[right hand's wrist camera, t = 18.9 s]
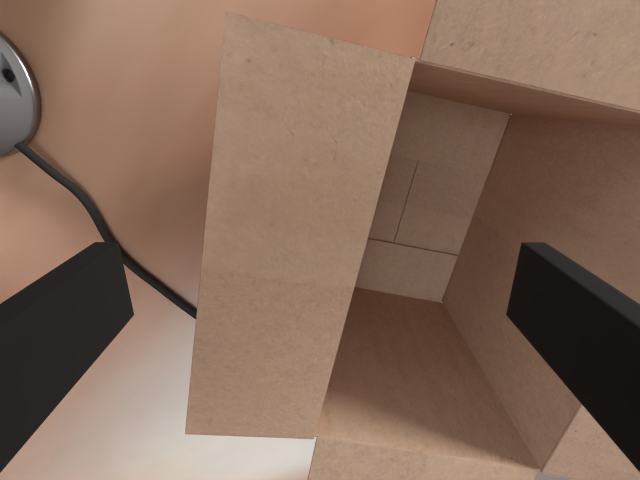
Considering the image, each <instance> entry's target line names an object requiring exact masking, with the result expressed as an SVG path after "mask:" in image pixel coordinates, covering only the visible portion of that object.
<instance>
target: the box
mask: <svg viewBox="0 0 640 480" xmlns="http://www.w3.org/2000/svg"><path fill="white" fill-rule="evenodd" d="M511 114H512V115H511ZM415 168H416V169H415ZM413 175H414V176H413ZM412 178H413V179H412ZM410 185H411V186H410ZM409 188H410V189H409ZM407 195H408V196H407ZM406 198H407V199H406ZM404 205H405V206H404ZM401 215H402V216H401ZM399 222H400V223H399ZM398 225H399V226H398ZM396 232H397V233H396ZM395 235H396V236H395ZM393 242H394V243H393ZM521 242H545V243H547V244H548V245H550V246H551V247H553V248H554V249H556V250H558V251H559V252H561V253H562V254H564V255H565V256H567V257H568V258H570V259H571V260H573V261H574V262H576V263H577V264H579V265H581V266H582V267H584V268H585V269H587V270H588V271H590V272H591V273H593V274H594V275H596V276H597V277H599V278H600V279H602V280H604V281H605V282H607V283H608V284H610V285H611V286H613V287H614V288H616V289H617V290H619V291H620V292H622V293H623V294H625V295H627V296H628V297H630V298H631V299H633V300H634V301H636V302H637V303H639V304H640V0H436V3H435V7H434V10H433V14H432V17H431V21H430V24H429V28H428V31H427V35H426V38H425V42H424V45H423V49H422V52H421V56H420V59H418V58H414V57H410V58H409V57H405V56H401V55H397V54H393V53H389V52H385V51H381V50H377V49H373V48H369V47H365V46H361V45H357V44H353V43H349V42H345V41H341V40H337V39H333V38H329V37H325V36H321V35H317V34H313V33H309V32H305V31H301V30H297V29H293V28H289V27H285V26H281V25H277V24H273V23H269V22H265V21H261V20H257V19H253V18H249V17H245V16H241V15H237V14H233V13H229V12H226V16H225V26H224V36H223V47H222V57H221V67H220V78H219V88H218V98H217V109H216V119H215V129H214V140H213V150H212V160H211V171H210V181H209V191H208V202H207V212H206V222H205V233H204V243H203V253H202V264H201V274H200V284H199V295H198V305H197V315H196V326H195V336H194V346H193V357H192V367H191V378H190V388H189V398H188V409H187V419H186V429H185V434H195V435H221V436H246V437H272V438H298V439H314V437H316V436H317V439H316V443H315V448H314V453H313V457H312V462H311V466H310V471H309V476H308V480H535V477H536V474H537V471H538V470H539V471H540V472H541V473H542V474H547V475H552V476H558V477H563V478H568V479H573V480H640V472H639V471H638V470H637V469H636V468H635V466H634V465H633V464H632V463H631V462H630V461H629V459H628V458H627V457H626V456H625V455H624V453H623V452H622V451H621V450H620V449H619V448H618V446H617V445H616V444H615V443H614V442H613V440H612V439H611V438H610V437H609V436H608V435H607V433H606V432H605V431H604V430H603V429H602V428H601V426H600V425H599V424H598V423H597V422H596V420H595V419H594V418H593V417H592V416H591V415H590V413H589V412H588V411H587V410H586V409H585V407H584V406H583V405H582V404H581V403H580V402H579V400H578V399H577V398H576V397H575V396H574V394H573V393H572V392H571V391H570V390H569V389H568V387H567V386H566V385H565V384H564V383H563V382H562V380H561V379H560V378H559V377H558V376H557V374H556V373H555V372H554V371H553V370H552V369H551V367H550V366H549V365H548V364H547V363H546V361H545V360H544V359H543V358H542V357H541V356H540V354H539V353H538V352H537V351H536V350H535V349H534V347H533V346H532V345H531V344H530V343H529V341H528V340H527V339H526V338H525V337H524V336H523V334H522V333H521V332H520V331H519V330H518V328H517V327H516V326H515V325H514V324H513V323H512V321H511V320H510V319H509V318H508V317H507V315H506V313H507V308H508V303H509V298H510V294H511V289H512V284H513V280H514V275H515V270H516V265H517V261H518V256H519V251H520V247H521ZM441 301H442V302H443V303H441Z"/></svg>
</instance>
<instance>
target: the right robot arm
mask: <svg viewBox="0 0 640 480" xmlns="http://www.w3.org/2000/svg"><path fill="white" fill-rule="evenodd" d="M40 117H41V98H40V93H39V88H38V85H37V82H36V79H35V77H34V74H33V72H32V70H31V68H30V66H29V65H28V63H27V61H26V60H25V58H24V57H23V55H22V54H21V52H20V51H19V50H18V49H17V47H16V46H15V45H14V44H13V43H12V42H11V41H10V40H9V39H8V38H7V37H6V36H5V35H3V34H2V33H1V32H0V157H3V156H7V155H11V154H13V153H16V152H18V151H21V152H22V153H23V154H24V155H25V156H27V157H28V158H29V159H30V160H31V161H33V162H34V163H35V164H36V165H37V166H39V167H40V168H41V169H42V170H43V171H45V172H46V173H47V174H48V175H50V176H51V177H52V178H53V179H55V180H56V181H57V182H59V183H60V184H62V185H63V186H64V187H66V188H67V189H68V190H69V191H71V192H72V193H73V194H74V195H75V196H76V197H77V198H78V199H79V201H80V202H81V203H82V204H83V205H84V207H85V208H86V210H87V211H88V213H89V214H90V216H91V218H92V219H93V221H94V223H95V225H96V227H97V229H98V231H99V233H100V234H101V236H102V238H103V240H104V241H105V242H95V243H93V244H92V245H90V246H89V247H87V248H86V249H84V250H82V251H81V252H79V253H78V254H76V255H75V256H73V257H72V258H70V259H69V260H67V261H66V262H64V263H63V264H61V265H59V266H58V267H56V268H55V269H53V270H52V271H50V272H49V273H47V274H46V275H44V276H43V277H41V278H40V279H38V280H36V281H35V282H33V283H32V284H30V285H29V286H27V287H26V288H24V289H23V290H21V291H20V292H18V293H17V294H15V295H13V296H12V297H10V298H9V299H7V300H6V301H4V302H3V303H1V304H0V472H1V471H2V470H3V469H4V468H5V466H6V465H7V464H8V463H9V462H10V461H11V459H12V458H13V457H14V456H15V455H16V453H17V452H18V451H19V450H20V449H21V448H22V446H23V445H24V444H25V443H26V442H27V440H28V439H29V438H30V437H31V436H32V435H33V433H34V432H35V431H36V430H37V429H38V428H39V426H40V425H41V424H42V423H43V422H44V420H45V419H46V418H47V417H48V416H49V415H50V413H51V412H52V411H53V410H54V409H55V407H56V406H57V405H58V404H59V403H60V402H61V400H62V399H63V398H64V397H65V396H66V394H67V393H68V392H69V391H70V390H71V389H72V387H73V386H74V385H75V384H76V383H77V382H78V380H79V379H80V378H81V377H82V376H83V374H84V373H85V372H86V371H87V370H88V369H89V367H90V366H91V365H92V364H93V363H94V361H95V360H96V359H97V358H98V357H99V356H100V354H101V353H102V352H103V351H104V350H105V349H106V347H107V346H108V345H109V344H110V343H111V341H112V340H113V339H114V338H115V337H116V336H117V334H118V333H119V332H120V331H121V330H122V328H123V327H124V326H125V325H126V324H127V323H128V321H129V320H130V319H131V318H132V317H133V315H134V313H133V308H132V303H131V298H130V294H129V289H128V284H127V280H126V275H125V270H124V266H123V264H125V265H126V266H127V267H128V268H129V269H130V270H131V271H132V272H134V273H135V274H136V275H138V276H139V277H140V278H141V279H143V280H144V281H145V282H147V283H148V284H149V285H151V286H152V287H153V288H155V289H156V290H157V291H159V292H160V293H161V294H163V295H164V296H165V297H166V298H168V299H169V300H170V301H172V302H173V303H174V304H176V305H177V306H178V307H180V308H181V309H182V310H184V311H185V312H186V313H188V314H189V315H191V316H192V317H193V318H195V319H196V315H197V311H196V310H194V309H193V308H192V307H190V306H189V305H188V304H186V303H185V302H184V301H182V300H181V299H180V298H178V297H177V296H176V295H174V294H173V293H172V292H171V291H169V290H168V289H167V288H165V287H164V286H163V285H162V284H160V283H159V282H158V281H156V280H155V279H154V278H152V277H151V276H150V275H148V274H147V273H146V272H145V271H143V270H142V269H141V268H139V267H138V266H137V265H136V264H135V263H134V262H133V261H131V260H130V259H129V258H128V257H127V256H126V255H125V254H124V253H123V251H122V250H121V249H120V247H119V242H114V240H113V239H112V237H111V235H110V234H109V232H108V230H107V228H106V226H105V224H104V222H103V220H102V218H101V217H100V215H99V213H98V211H97V210H96V208H95V207H94V205H93V204H92V202H91V201H90V200H89V198H88V197H87V196H86V195H85V194H84V193H83V192H82V191H81V190H80V189H79V188H78V187H77V186H76V185H75V184H74V183H72V182H71V181H70V180H68V179H67V178H66V177H64V176H63V175H62V174H60V173H59V172H58V171H57V170H55V169H54V168H53V167H52V166H50V165H49V164H48V163H47V162H46V161H44V160H43V159H42V158H41V157H40V156H39V155H37V154H36V153H35V152H34V151H33V150H31V149H30V148H29V147H28V146H27V144H28V143H29V142H30V141H31V140H32V138H33V137H34V135H35V133H36V131H37V129H38V126H39V123H40ZM506 315H507V317H508V318H509V319H510V320H511V321H512V323H513V324H514V325H515V326H516V327H517V328H518V330H519V331H520V332H521V333H522V334H523V336H524V337H525V338H526V339H527V340H528V341H529V343H530V344H531V345H532V346H533V347H534V349H535V350H536V351H537V352H538V353H539V354H540V356H541V357H542V358H543V359H544V360H545V361H546V363H547V364H548V365H549V366H550V367H551V369H552V370H553V371H554V372H555V373H556V374H557V376H558V377H559V378H560V379H561V380H562V382H563V383H564V384H565V385H566V386H567V387H568V389H569V390H570V391H571V392H572V393H573V394H574V396H575V397H576V398H577V399H578V400H579V402H580V403H581V404H582V405H583V406H584V407H585V409H586V410H587V411H588V412H589V413H590V415H591V416H592V417H593V418H594V419H595V420H596V422H597V423H598V424H599V425H600V426H601V428H602V429H603V430H604V431H605V432H606V433H607V435H608V436H609V437H610V438H611V439H612V440H613V442H614V443H615V444H616V445H617V446H618V448H619V449H620V450H621V451H622V452H623V453H624V455H625V456H626V457H627V458H628V459H629V461H630V462H631V463H632V464H633V465H634V466H635V468H636V469H637V470H638V471H639V472H640V304H639V303H637V302H636V301H634V300H633V299H631V298H630V297H628V296H627V295H625V294H623V293H622V292H620V291H619V290H617V289H616V288H614V287H613V286H611V285H610V284H608V283H607V282H605V281H604V280H602V279H600V278H599V277H597V276H596V275H594V274H593V273H591V272H590V271H588V270H587V269H585V268H584V267H582V266H581V265H579V264H577V263H576V262H574V261H573V260H571V259H570V258H568V257H567V256H565V255H564V254H562V253H561V252H559V251H558V250H556V249H554V248H553V247H551V246H550V245H548V244H547V243H545V242H521V247H520V251H519V256H518V261H517V265H516V270H515V275H514V280H513V284H512V289H511V294H510V298H509V303H508V308H507V313H506Z"/></svg>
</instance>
